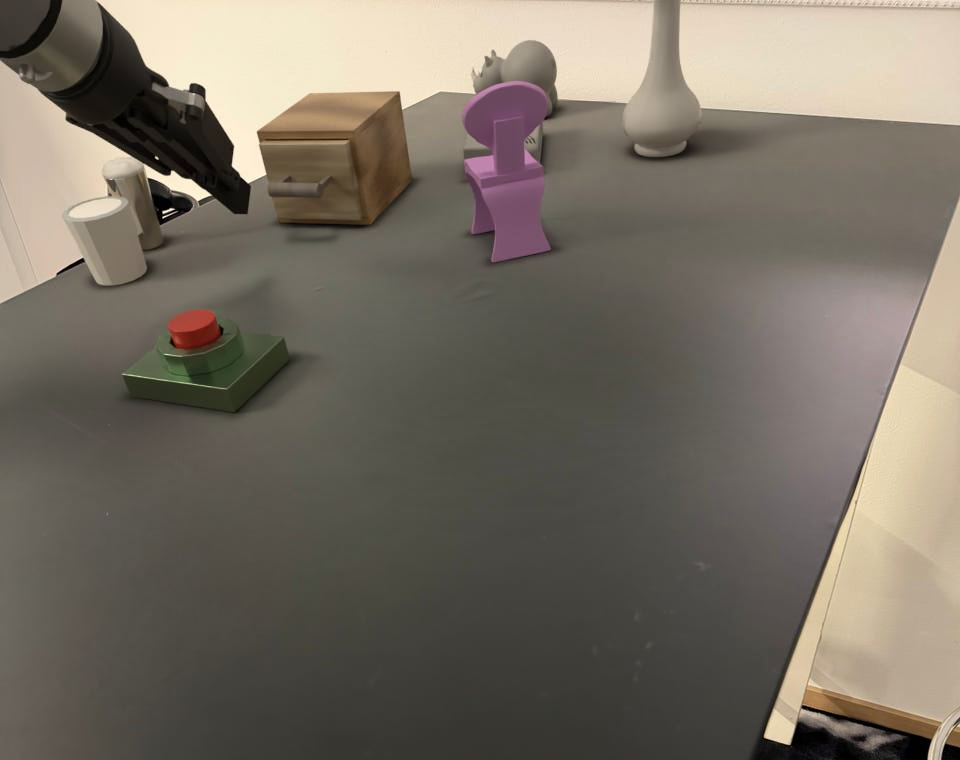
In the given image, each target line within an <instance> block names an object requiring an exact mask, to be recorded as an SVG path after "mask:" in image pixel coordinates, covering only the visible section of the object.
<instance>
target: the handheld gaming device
mask: <svg viewBox="0 0 960 760" xmlns="http://www.w3.org/2000/svg"><path fill="white" fill-rule="evenodd" d="M543 136H544V120H543V121H542V122H541V123H540V124H539V125H538V126H537V127H536V128H535V130H534V131H533V132H532V133H531V134H530V135H529V136H528V137H527V138H526V139H525V141H524V148H525V149H526V150H527V151H528V153H529V154H530V155H531V156H532V157H533V158H534V159H535V160H536V161H537V162H539V163H540V164H541V155H542V146H543ZM462 149H463V150H462V152H463V161H464V160H465V159H470V158H475V157H484V156H491V155H493V153H492V150H491V149H489V148H488V147H486V146H484V145H482V144H480V143H478V142H476V140H475V139H474V138H472V137H471V136H470V135H469V134H468V133H467V135H466V138H465V142H464V145H463V148H462Z"/></svg>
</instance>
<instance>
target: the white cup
mask: <svg viewBox="0 0 960 760" xmlns="http://www.w3.org/2000/svg"><path fill="white" fill-rule="evenodd" d="M61 218H62V220H63V221H64V224H65V226H66V227H67V230H68V231H69V233H70V235H71V237H72V239H73V240H74V243H75V244H76V246H77V249H78V250H79V252H80V254H81V256H82V258H83V260H84V262H85V264H86V265H87V268H88V269H89V271H90V273H91V275H92V278H93V279H94V281H95V282H96V283H97V285H101V286H118V285H125V284H127V283H130V282H133V281H135V280H137V279H139V278H141V277H142V276H143V275H144V274H146V273H147V270H148V267H147V263H146V258H145V255H144V252H143V250H142V248H141V245H140V241H139V237H138V234H137V230H136V227H135V223H134V219H133V216H132V212H131V209H130V205H129V202H128V200H127V199H126V198H124V197H119V196H112V195H105V196H100V197H94V198H90V199H85V200H82V201H80V202H78V203H76V204H73V205H71V206H69V207H68V208H66V209H65V210H64V211H62V214H61Z"/></svg>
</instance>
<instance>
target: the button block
mask: <svg viewBox="0 0 960 760" xmlns="http://www.w3.org/2000/svg"><path fill="white" fill-rule="evenodd" d="M216 319H217V322H218V325H219V328H220V331H221V337H220V338H218V339H217V340H216V341H215V342H212V343H210V344H207V345H205V346H203V347H199V348H192V349H180V348H177V347H176V346H175V344H174V342H173V339H172V336H171V334H170V331H169V328H168V329H166V330H165V331H164V332H162V333H161V334H160V335H158V337H157V340H156V344H155V346H154V347H153V348H152V349H151V350H150V351H148V352H147V353H146V354H144V356H142V357H141V358H140V359H138V360H137V361H136V362H135V363H133V364H132V365H131V366H129V367H128V368H127V369H126V370H125V371H123V372H122V373H121V376H122V378H123V381H124V383H125V385H126V386H125V387H126V388H127V390H128V393H129V395H130V397H132V398H137V399H138V398H140V399H146V400H153V401H157V402H164V403H171V404H178V405H182V406H183V405H185V406H191V407H196V408H204V409H210V410H217V411H223V412H228V413H229V412H230V413H236V412H237V411H238V410H239V409H241V407H242V406H243V405H245V403H246V402H248V401H249V399H251V397H252V396H254V395H255V394H256V393H257V392H258V391H259V390H260V389H261V388H262V387H263V386H264V385H265V384H266V383H268V381H269V380H270V379H272V377H274V375H276V374H277V373H278V372H279V371H280V370H281V369H282V368H283V367H284V366H285V365H286V364H287V363H288V362H289V361H291V358H290V353H289V351H288V346H287V343H286V338H285V337H284V336H281V335H274V334H273V335H272V334H264V333H256V332H246V331H240V328H239V325H238V324H237V323H236V322H235V321H234V320H232V319H231V318H229V317H223V316H216Z"/></svg>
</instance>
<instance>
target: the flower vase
mask: <svg viewBox="0 0 960 760" xmlns="http://www.w3.org/2000/svg"><path fill="white" fill-rule="evenodd" d="M681 2H682V1H681V0H652V20H651V21H652V22H651V33H650V34H651V37H650V48H649V57H648V62H647V66H646V71H645V73H644V77H643V79H642V81H641V84H640V85H639V87H638V89H637V90H636V92H635V93H634V94H633V95H632V96H631V98H630V99H629V101H628V102H627V104H626V105H625V107H624V110H623V113H622V117H621V126H622V130H623V133H624V134H625V136H626V137H627V138H628V139H629V140H630V141H631V142H632V143H633V144H634V147H633V148H634V152H635V153H636V154H637V155H640V156H643V157H647V158H665V157H671V156H675V155H678V154H680V153H682V152H684V150H685V149H686V147H687V145H688V144H687V140H689V139H690V138H692V136H694V134H695V133H696V132H697V130H698V129H699V127H700V124H701V122H702V118H703V113H702V106H701V104H700V101H699V99H698V97H697V96H696V94H695V93H694V91H693V90H692V89H691V88H690V87H689V85H688V84H687V82H686V79H685V77H684V74H683V73H684V72H683V69H682V66H681V65H682V64H681V56H680V30H681V29H680V27H681V25H680V23H681V22H680V21H681Z"/></svg>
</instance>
